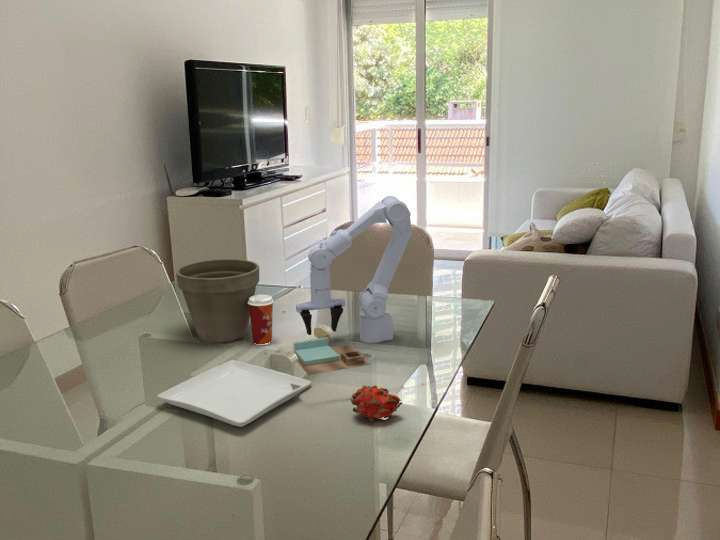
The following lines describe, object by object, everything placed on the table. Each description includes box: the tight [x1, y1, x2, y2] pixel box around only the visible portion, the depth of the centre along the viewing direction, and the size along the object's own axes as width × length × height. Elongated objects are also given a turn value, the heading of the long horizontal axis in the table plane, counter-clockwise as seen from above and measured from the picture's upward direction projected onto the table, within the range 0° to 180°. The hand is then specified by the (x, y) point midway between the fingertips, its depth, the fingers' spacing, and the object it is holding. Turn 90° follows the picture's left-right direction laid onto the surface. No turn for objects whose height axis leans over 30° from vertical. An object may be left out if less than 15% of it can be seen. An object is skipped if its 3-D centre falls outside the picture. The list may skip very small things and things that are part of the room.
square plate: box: [156, 359, 313, 428], centre depth 172 cm, size 27×27×4 cm
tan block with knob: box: [313, 327, 331, 342], centre depth 205 cm, size 7×2×5 cm, turn 28°
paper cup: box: [248, 294, 275, 344], centre depth 209 cm, size 8×8×14 cm
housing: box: [296, 344, 372, 376], centre depth 193 cm, size 18×16×4 cm
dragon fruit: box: [350, 385, 403, 422], centre depth 162 cm, size 8×8×12 cm
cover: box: [293, 337, 340, 365], centre depth 194 cm, size 10×10×3 cm
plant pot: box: [175, 258, 260, 344], centre depth 214 cm, size 25×25×22 cm
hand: (321, 332), depth 205 cm, fingers open, 7 cm apart
